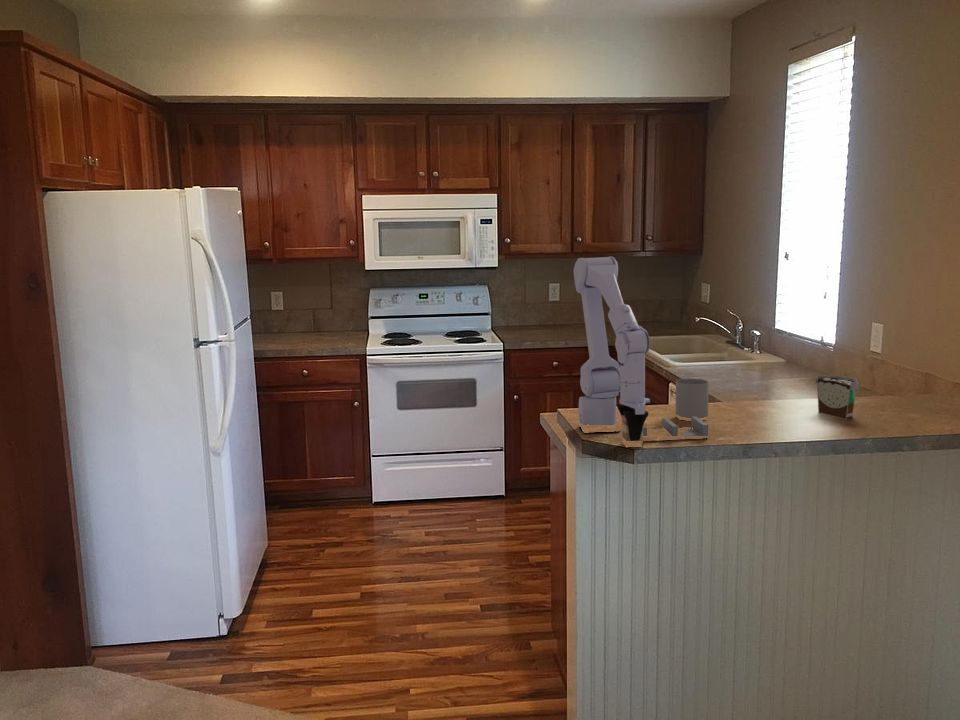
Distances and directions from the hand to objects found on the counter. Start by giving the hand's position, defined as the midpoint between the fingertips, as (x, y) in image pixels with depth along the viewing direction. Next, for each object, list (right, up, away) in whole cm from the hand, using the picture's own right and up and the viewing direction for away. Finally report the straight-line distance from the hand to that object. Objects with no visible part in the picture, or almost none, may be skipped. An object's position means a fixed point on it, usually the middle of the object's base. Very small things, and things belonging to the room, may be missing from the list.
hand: (632, 437), depth 184 cm
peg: (0, -2, 0) cm, 2 cm away
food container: (+60, +4, +23) cm, 64 cm away
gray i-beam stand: (+11, 0, +8) cm, 13 cm away
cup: (+21, +3, +25) cm, 33 cm away
